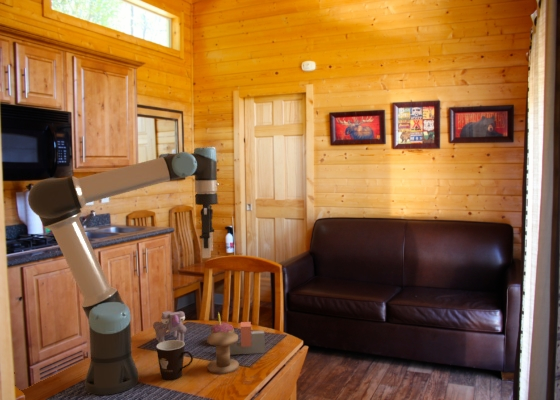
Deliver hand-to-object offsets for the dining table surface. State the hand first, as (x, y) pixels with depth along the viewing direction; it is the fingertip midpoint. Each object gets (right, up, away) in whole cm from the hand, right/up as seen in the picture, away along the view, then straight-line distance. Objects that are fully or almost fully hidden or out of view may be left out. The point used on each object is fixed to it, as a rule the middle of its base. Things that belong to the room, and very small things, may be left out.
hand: (207, 254), depth 169 cm
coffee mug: (-8, -36, -18) cm, 41 cm away
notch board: (+13, -35, +1) cm, 37 cm away
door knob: (+7, -35, -11) cm, 38 cm away
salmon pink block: (+13, -32, +1) cm, 34 cm away
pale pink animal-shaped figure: (-14, -35, +9) cm, 39 cm away
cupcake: (+4, -34, +12) cm, 36 cm away
